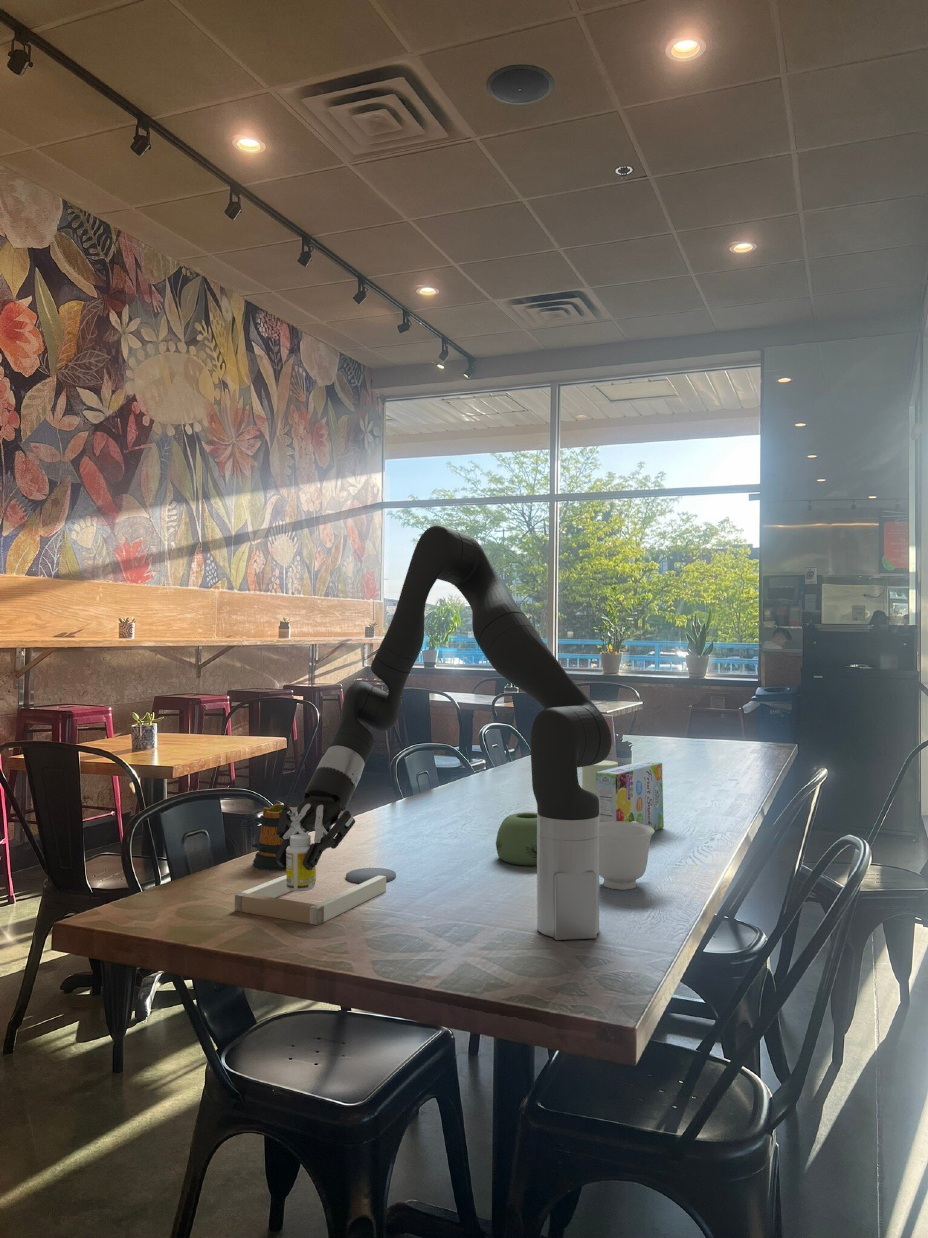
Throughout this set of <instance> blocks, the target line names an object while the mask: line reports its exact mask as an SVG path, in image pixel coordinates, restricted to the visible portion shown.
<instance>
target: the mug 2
mask: <svg viewBox="0 0 928 1238" xmlns="http://www.w3.org/2000/svg"><path fill="white" fill-rule="evenodd" d="M495 847H496V852H497V856H498V857H499V859H501V860H502V861H504V862H506V863H508V864H512V865H517V866H526V867H527V866H529V867H530V866H531V867H532V866H537V812H527V811H526V812H518V813H514V814H513V813H512V814H509V815H508V816H506V817H505V818H504V819H503V820H502V821H501V824H500V826H499V827H498V831H497V835H496V839H495Z"/></svg>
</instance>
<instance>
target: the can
mask: <svg viewBox="0 0 928 1238" xmlns="http://www.w3.org/2000/svg"><path fill="white" fill-rule="evenodd" d="M616 767H619V763H618V761H613V760H607V759H606V760H605V759H604V760H603V761H602V762H600V763H597V764H594V765H590V766H585V767H581V770H582V773H581V776H582V780H581V781H582V784H581V785H582V787H581V788H582V789H584V790H586V791H589V792H592V793H594V794H595V795H596V772H599V771H603V770H608V769H612V768H616Z"/></svg>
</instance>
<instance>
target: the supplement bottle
mask: <svg viewBox="0 0 928 1238" xmlns="http://www.w3.org/2000/svg"><path fill="white" fill-rule="evenodd" d="M311 839H312V838H311V835H310V834H308V835H307V834H297V835H292V836H291V837H290V846H288V847H287V849H286V870H285V872H286V873H285V875H286V877H287V889H288V890H290V892H297V893H299V892H307V891H310V890H313V889H314V888H315V887H316V881H315V867H313V869H312V870H307V869H306V868H305V867H304V866H303V860H304V858H305V856H306V854H307V852H308V850H309V848H310V845H311V843H312V840H311Z"/></svg>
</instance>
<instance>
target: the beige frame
mask: <svg viewBox="0 0 928 1238" xmlns="http://www.w3.org/2000/svg"><path fill="white" fill-rule="evenodd" d="M316 881H317V865H316V866H315V882H316ZM290 892H291V891H290V890H288V889H287V877H286V874H284V875H282V876H279V877H276V878H274V879H272V880H269V881H266V882H264V883H261V884H259V885H256V886H254V887H251V888H249V889H245V890H243V891H240V892H238V893H236V894H234V911H235V912H241V913H247V914H252V915H257V916H262V917H263V916H264V917H269V918H274V919H275V918H276V919H280V920H281V919H282V920H287V921H292V922H297V923H298V922H299V923H302V924H303V923H304V924H308V925H309V924H310V925H316V926H319V925H321V924H323V923H325V922H327V921H330V920H331V919H333V918H335V917H336V916H339V915H341V914H343V913H345V912H347V911H349V910H351V909H352V908H355V907H357V906H359V905H361V904H363V903H365V902H367V901H369V900H371V899H373V898H375V897H377V896H379V895H381V894H383V893H385V892H387V882H386V876H380V875H378V876H376V877H374V878H372V879H370V880H367V881H365V882H363V883H361V884H360V883H358V884H357V885H355V886H353V887H350V888H348V889H346V890H344V891H342V892H340V893H337V894H335V895H333V896H330V897H329V898H326V899H325V900H322V901H319V902H318V903H316V904H315V903H310V902H302V901H296V900H291V899H286V898H285V899H284V898H279V897H280V896H281V897H282V896H283V895H285V894H288V893H290Z"/></svg>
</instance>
